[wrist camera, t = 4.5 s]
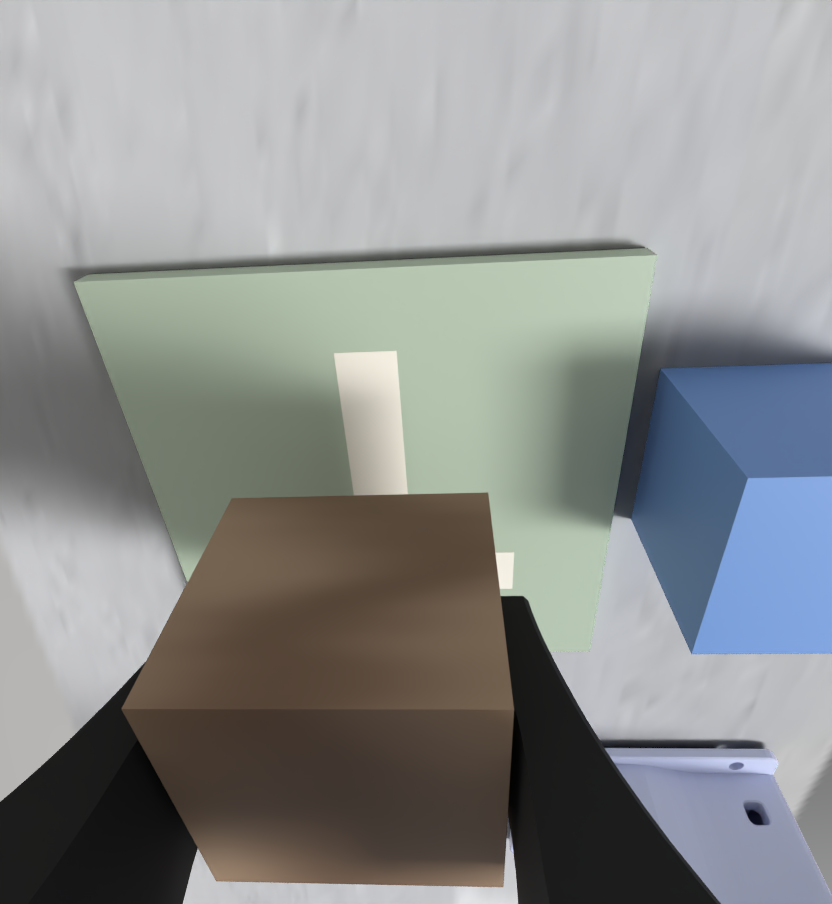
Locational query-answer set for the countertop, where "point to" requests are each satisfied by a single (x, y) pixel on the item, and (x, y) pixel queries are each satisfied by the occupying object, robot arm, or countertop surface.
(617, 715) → the countertop surface
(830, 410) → the blue cube
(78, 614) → the countertop surface
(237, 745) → the walnut block
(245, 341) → the board
